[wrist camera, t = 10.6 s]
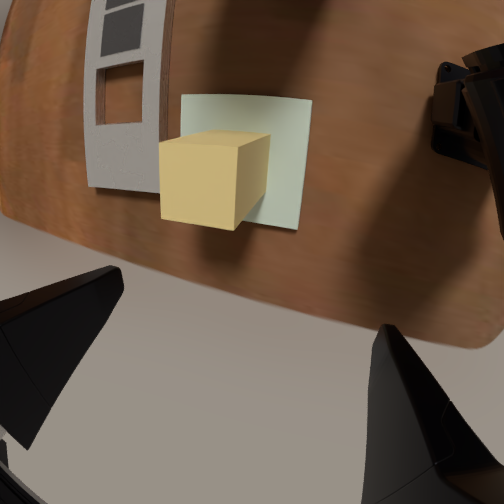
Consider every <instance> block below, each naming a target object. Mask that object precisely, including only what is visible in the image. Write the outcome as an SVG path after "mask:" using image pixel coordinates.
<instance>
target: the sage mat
mask: <svg viewBox="0 0 504 504" xmlns="http://www.w3.org/2000/svg"><path fill="white" fill-rule="evenodd" d="M311 112H312V100H305V99H295V98H285V97H273V96H259V95H236V94H189V95H182V99H181V137H183V136H187V135H191V134H195V133H200V132H204V131H209V130H213V129H214V130H231V131H244V132H256V133H266V134H271V139H270V151H269V163H268V175H267V187H266V192H265V193H264V194H263V196H262V197H261V198H260V199H259V201H258V202H257V203H256V204H255V205H254V207H253V208H252V209H251V210H250V212H249V213H248V214H247V215H246V216H245V218H244V219H243V220H242V221H248V222H254V223H260V224H266V225H272V226H278V227H284V228H290V229H296V230H297V229H298V225H299V218H300V210H301V202H302V194H303V186H304V178H305V169H306V161H307V152H308V142H309V133H310V123H311Z"/></svg>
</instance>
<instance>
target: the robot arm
mask: <svg viewBox="0 0 504 504" xmlns="http://www.w3.org/2000/svg"><path fill="white" fill-rule="evenodd" d="M462 59H463V61H464V64H465V66H466V67H468V69H469V70H468V69H465V68H463V67H460V66H458V65H455V64H452V63H450V62H443V63H441V64H440V66H439V81H438V84H436V85H435V86H434V96H433V106H432V115H431V121H432V123H433V124H434V128H433V135H432V141H431V148H432V150H433V151H434V152H436V153H438V154H441V155H444V156H448V157H451V158H454V159H457V160H460V161H463V162H466V163H469V164H472V165H475V166H478V167H481V168H483V169H486V170H488V171H489V175H490V179H491V183H492V188H493V192H494V197H495V202H496V208H497V214H498V220H499V226H500V232H501V235H502V237H503V240H504V43H503V44H499V45H495V46H492V47H488V48H485V49H481V50H478V51H475V52H473V53H470V54H468V55H466V56H464V57H462ZM445 66H447V67H448V68H449V72H447V71H446V70H445V68H444V67H445ZM437 143H440V144H441V147H440V149H437V148H436V144H437ZM123 291H124V283H123V278H122V273H121V270H120V268H119V267H116V266H112V265H109V266H106V267H103V268H100V269H96V270H93V271H90V272H87V273H84V274H81V275H78V276H75V277H72V278H69V279H66V280H63V281H60V282H57V283H54V284H51V285H48V286H45V287H42V288H39V289H36V290H33V291H30V292H27V293H24V294H21V295H18V296H15V297H12V298H9V299H5V300H2V301H0V504H47V503H46V502H45V501H44V500H42V499H41V498H40V497H39V496H37V495H36V494H35V493H34V492H33V491H32V490H30V489H29V488H28V487H27V486H26V485H25V484H24V483H23V482H22V481H20V480H19V479H18V478H17V477H16V476H15V475H14V474H13V473H12V472H11V471H10V470H9V467H8V458H7V446H6V442H5V441H4V440H3V439H2V437H3V436H4V435H5V433H6V432H8V433H9V434H10V435H11V436H12V437H13V438H14V439H15V440H16V441H17V442H18V443H19V444H21V445H22V446H23V447H24V448H25V449H26V450H28V449H29V448H30V446H31V444H32V443H33V441H34V439H35V437H36V435H37V433H38V432H39V430H40V428H41V426H42V424H43V423H44V421H45V419H46V417H47V415H48V414H49V412H50V410H51V408H52V406H53V405H54V403H55V401H56V400H57V398H58V396H59V395H60V393H61V391H62V390H63V388H64V386H65V385H66V383H67V382H68V380H69V378H70V377H71V375H72V374H73V372H74V370H75V369H76V367H77V365H78V364H79V363H80V361H81V359H82V358H83V356H84V355H85V353H86V352H87V350H88V349H89V347H90V345H91V344H92V343H93V341H94V340H95V338H96V337H97V335H98V334H99V332H100V331H101V329H102V328H103V326H104V325H105V323H106V322H107V320H108V318H109V316H110V315H111V313H112V311H113V309H114V307H115V306H116V304H117V302H118V300H119V299H120V297H121V295H122V293H123ZM361 504H504V466H503V465H502V464H500V463H499V462H498V461H497V460H496V459H495V457H494V456H493V455H492V454H491V453H490V451H489V450H488V449H487V447H486V446H485V445H484V444H483V443H482V442H481V440H480V439H479V437H478V436H477V435H476V434H475V433H474V431H473V430H472V429H471V427H470V426H469V425H468V424H467V422H466V421H465V420H464V418H463V417H462V416H461V414H460V413H459V411H458V410H457V409H456V407H455V406H454V404H453V403H452V401H450V399H449V397H448V396H447V394H446V393H445V392H444V390H443V389H442V388H441V386H440V385H439V383H438V382H437V380H436V379H435V378H434V376H433V375H432V374H431V372H430V371H429V369H428V368H427V367H426V365H425V364H424V363H423V361H422V360H421V359H420V357H419V356H418V355H417V354H416V352H415V351H414V350H413V348H412V347H411V346H410V344H409V343H408V342H407V340H406V339H405V338H404V337H403V335H402V334H401V333H400V331H399V330H398V329H397V328H396V327H395V326H394V325H390V324H382V325H381V327H380V329H379V331H378V334H377V337H376V338H375V341H374V343H373V347H372V356H371V367H370V377H369V385H368V417H367V444H366V461H365V473H364V484H363V493H362V501H361Z"/></svg>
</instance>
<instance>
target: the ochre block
mask: <svg viewBox="0 0 504 504" xmlns="http://www.w3.org/2000/svg"><path fill="white" fill-rule="evenodd" d="M270 139H271V134H266V133H256V132H244V131H231V130H214V129H213V130H209V131H204V132H200V133H195V134H191V135H187V136H183V137H179V138H175V139H171V140H167V141H163V142H159V178H160V203H161V219H166V220H172V221H178V222H184V223H191V224H197V225H203V226H208V227H214V228H220V229H226V230H232V231H234V230H235V229H236V227H237V226H238V225H239V224H240V223H241V221H242V220H243V219H244V218H245V216H246V215H247V214H248V213H249V212H250V210H251V209H252V208H253V207H254V205H255V204H256V203H257V202H258V201H259V199H260V198H261V197H262V196H263V194H264V193H265V192H266V187H267V175H268V163H269V151H270Z"/></svg>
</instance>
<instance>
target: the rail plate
mask: <svg viewBox="0 0 504 504" xmlns="http://www.w3.org/2000/svg"><path fill="white" fill-rule="evenodd" d="M174 4H175V0H92V2H91V9H90V16H89V23H88V32H87V41H86V53H85V69H84V137H85V154H86V167H87V178H88V187H101V188H112V189H123V190H133V191H143V192H152V193H160V178H159V142H163V141H167V110H168V80H169V62H170V47H171V34H172V23H173V13H174ZM141 62H144V71H143V99H142V122H124V123H110V124H105V72H106V69H109V68H114V67H119V66H124V65H129V64H135V63H141Z"/></svg>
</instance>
